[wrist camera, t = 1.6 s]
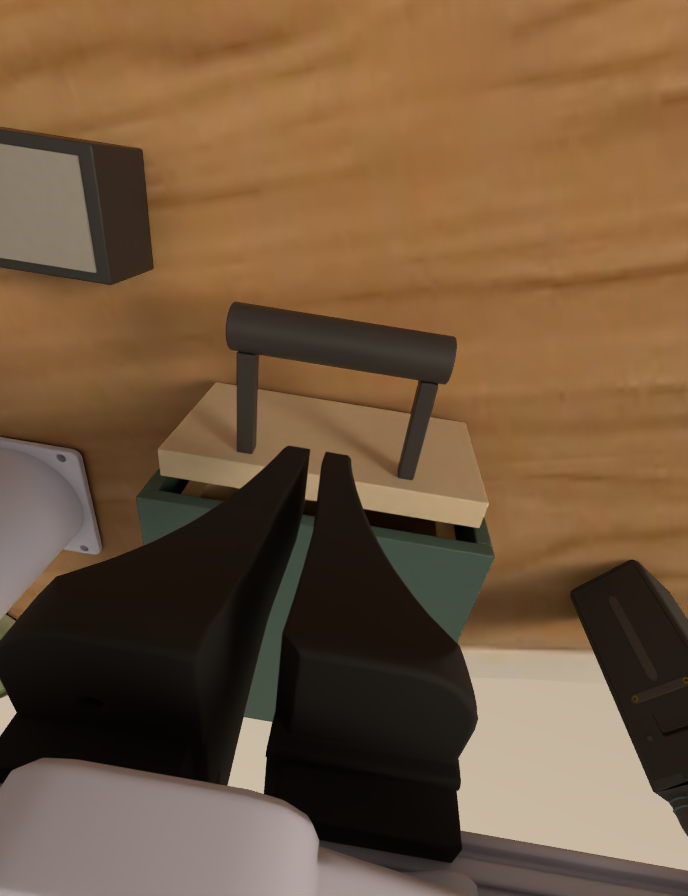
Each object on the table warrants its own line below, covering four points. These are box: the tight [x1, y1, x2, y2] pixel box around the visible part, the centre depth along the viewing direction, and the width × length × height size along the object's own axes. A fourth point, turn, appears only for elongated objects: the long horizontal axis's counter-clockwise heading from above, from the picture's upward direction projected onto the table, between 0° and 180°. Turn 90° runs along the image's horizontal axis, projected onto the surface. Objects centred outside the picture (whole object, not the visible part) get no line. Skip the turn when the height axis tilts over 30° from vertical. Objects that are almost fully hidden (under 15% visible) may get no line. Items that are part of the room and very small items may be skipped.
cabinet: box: [136, 468, 495, 722], centre depth 23 cm, size 14×13×8 cm
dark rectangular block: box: [0, 127, 153, 285], centre depth 16 cm, size 4×7×4 cm, turn 82°
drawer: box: [158, 302, 489, 540], centre depth 20 cm, size 19×12×6 cm, turn 172°
